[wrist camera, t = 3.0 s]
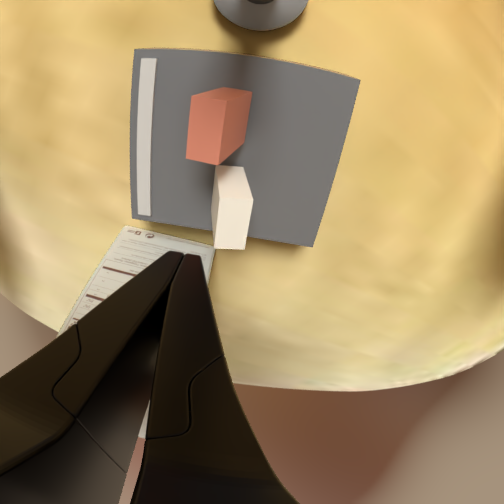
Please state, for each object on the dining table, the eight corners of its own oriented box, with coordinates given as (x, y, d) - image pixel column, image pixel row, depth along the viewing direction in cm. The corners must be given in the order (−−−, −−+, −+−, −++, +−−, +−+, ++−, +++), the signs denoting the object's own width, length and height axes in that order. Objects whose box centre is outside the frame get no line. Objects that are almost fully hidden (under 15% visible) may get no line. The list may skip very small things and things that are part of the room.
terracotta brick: (217, 137, 15) (186, 158, 12) (224, 86, 13) (191, 95, 10) (244, 142, 15) (218, 165, 12) (252, 91, 13) (226, 101, 10)
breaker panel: (148, 195, 21) (130, 220, 18) (155, 47, 15) (132, 49, 12) (308, 221, 21) (312, 249, 18) (346, 74, 15) (361, 80, 12)
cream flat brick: (210, 208, 17) (214, 248, 14) (215, 165, 15) (219, 197, 13) (236, 210, 17) (244, 249, 15) (243, 166, 16) (253, 199, 13)
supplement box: (204, 310, 27) (176, 448, 17) (124, 289, 26) (70, 415, 16) (219, 244, 23) (183, 408, 13) (123, 220, 22) (39, 361, 12)
